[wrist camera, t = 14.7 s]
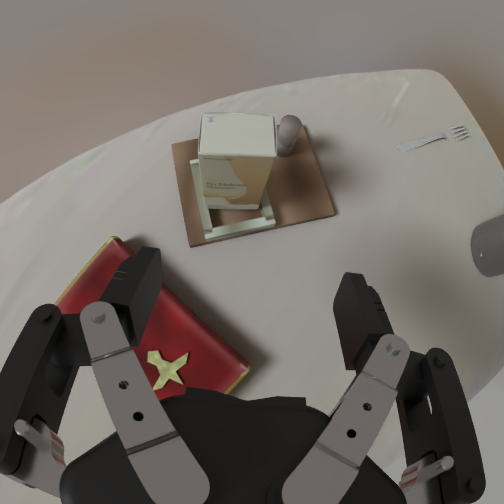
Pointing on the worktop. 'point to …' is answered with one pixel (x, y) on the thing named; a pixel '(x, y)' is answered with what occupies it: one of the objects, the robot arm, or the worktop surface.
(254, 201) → the skincare box
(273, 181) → the pin board
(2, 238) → the worktop surface
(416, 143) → the fork
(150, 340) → the hardcover book
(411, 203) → the worktop surface
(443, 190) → the worktop surface
